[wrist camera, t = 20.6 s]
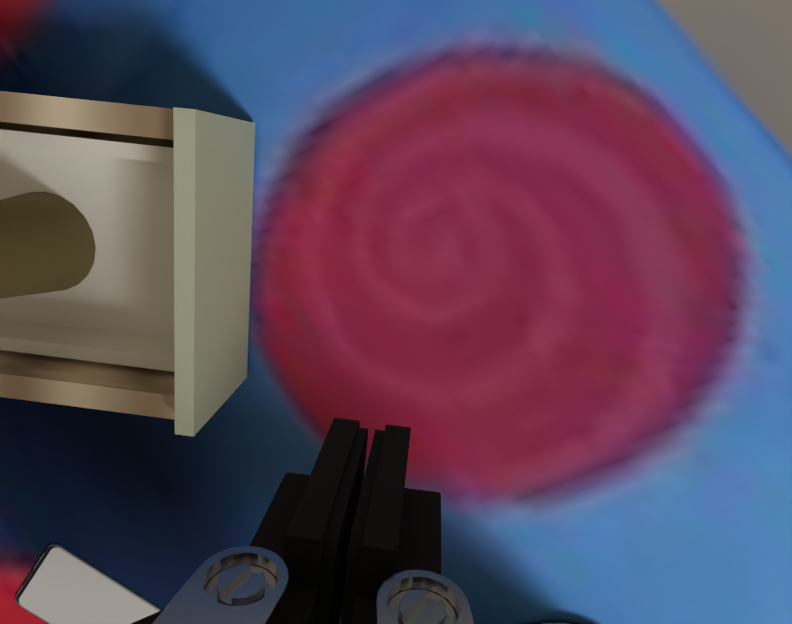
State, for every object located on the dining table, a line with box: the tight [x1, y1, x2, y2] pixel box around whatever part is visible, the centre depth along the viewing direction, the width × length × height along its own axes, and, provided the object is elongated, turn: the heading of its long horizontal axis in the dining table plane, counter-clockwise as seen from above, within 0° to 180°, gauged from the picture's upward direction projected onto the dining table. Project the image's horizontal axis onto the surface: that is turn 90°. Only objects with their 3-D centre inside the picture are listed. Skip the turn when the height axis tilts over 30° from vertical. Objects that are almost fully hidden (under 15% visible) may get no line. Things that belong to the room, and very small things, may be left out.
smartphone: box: [15, 544, 162, 624], centre depth 43 cm, size 7×1×15 cm
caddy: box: [0, 91, 175, 420], centre depth 32 cm, size 19×16×7 cm
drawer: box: [0, 107, 255, 437], centre depth 31 cm, size 18×16×8 cm
